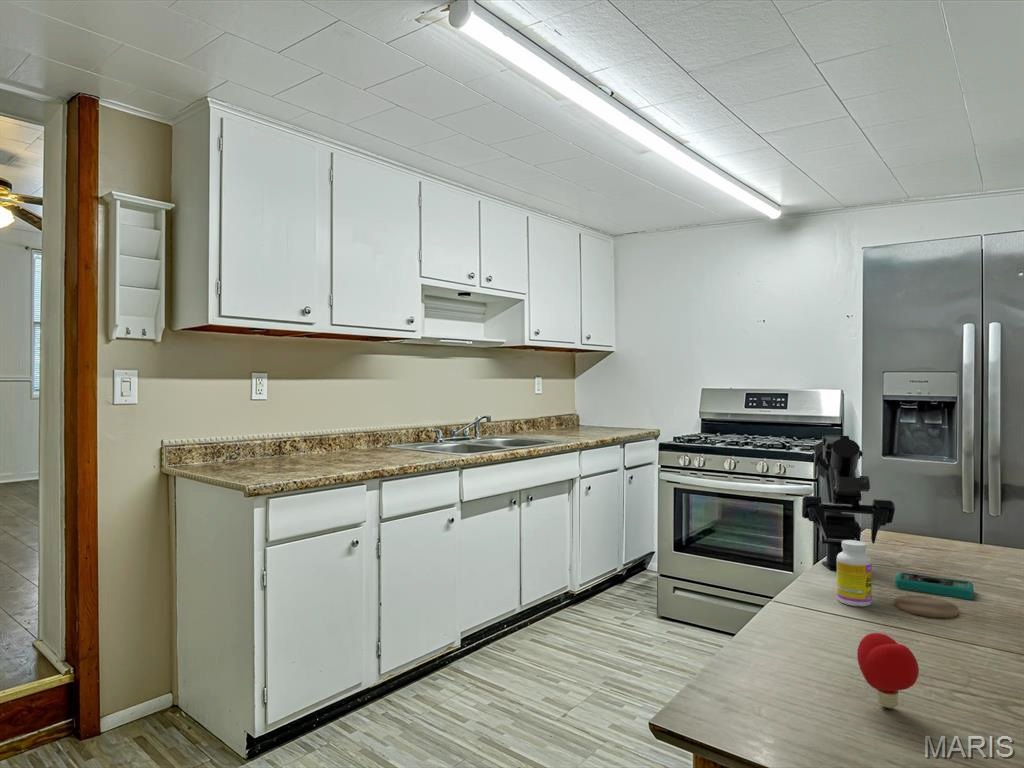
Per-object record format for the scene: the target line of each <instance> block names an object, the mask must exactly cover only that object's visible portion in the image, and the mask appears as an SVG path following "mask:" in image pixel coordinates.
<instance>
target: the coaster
mask: <svg viewBox="0 0 1024 768" xmlns="http://www.w3.org/2000/svg"><path fill="white" fill-rule="evenodd" d="M894 604H895V605H896V606H895V605H894V606H895V607H896V608H897V609H898V610H900V609H901V610H900V611H902V610H903V611H902V612H905V611H906V612H905V613H907V612H908V613H907V614H910V613H912V614H911V615H914V614H915V615H914V616H918V615H921V616H920V617H923V616H926V617H925V618H929V617H934V618H933V619H951V618H952V619H953V618H957V616H959V608H958V607H957V605H955V604H953V603H952V602H948V601H946V600H944V599H940V598H936V597H931V596H926V595H925V596H924V595H908V594H907V595H901V596H900V595H899V596H897V597H896V598H895V600H894Z"/></svg>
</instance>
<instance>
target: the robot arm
mask: <svg viewBox="0 0 1024 768" xmlns="http://www.w3.org/2000/svg"><path fill="white" fill-rule="evenodd" d="M860 447H861V446H860V445H859V444H858V443H857V442H856V441H854V440H852V439H850V436H849V435H836V434H834V435H833V434H832V435H831V434H825V435H822V437H821V441H820V442H819V443H818V444H817V445H816V446H815V447H814V455H813V464H814V467H816V471H817V472H816V473H817V474H818V475H819V476H820V477H821V478H822V479H824V484H825V494H826V502H823V501H822V496H819V495H817V496H816V495H804V496H803V497H802V498H801V499H802V500H801V501H802V502H801V517H802V518H804V519H807V520H808V521H809V522H813V524H814V525H815V526H816V527H817V529H819V540H820V543H821V544H822V545H823V544H826V545H825V546H826V547H825V549H826V551H825V552H826V561H823V560H822V561H823V562H822V561H821V564H822V565H823V566H824V567H826V568H827V569H828V570H830V571H837V555H838V554H839V553H840V552H843V549H842V541H844V540H855V541H861V535H862V527H861V526H860V524H859V521H856V517H855V515H867V516H871V523H870V529H871V530H870V531H871V532H870V533H871V534H870V535H871V537H870V539H871V543H872V544H875V542H876V539H877V536H878V532H879V530H880V528H881V527H882V526H883V527H884V526H886V525H887V524H890V523H893V520H894V515H895V511H896V508H895V503H894V502H893V501H892V499H877V498H874V499H873V500H872V505H870V504H869V505H868V504H861V502H862V498H863V497H862V492H867V493H868V492H869V491H870V489H871V484H870V483H871V482H870V477H869V475H859V477H857V472H856V470H857V468H858V463H859V460H860V459H861V457H863V451H862V450H861V449H860Z"/></svg>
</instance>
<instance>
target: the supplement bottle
mask: <svg viewBox="0 0 1024 768" xmlns="http://www.w3.org/2000/svg"><path fill="white" fill-rule="evenodd" d="M842 549H843V552H840V553H839V554H838V555H837V570H836V599H837V600H838V602H840V603H842V604H844V605H847V606H851V607H858V606H859V607H861V608H862V607H868V606H870V605H871V604H872V603H873V602H872V600H873V598H872V597H873V596H872V595H873V594H872V592H873V588H872V587H873V584H872V580H873V579H872V578H873V577H872V575H873V574H872V559H871V557H870V556H869V555H868V554H866V551H867V543H866V542H864V541H861V540H860V541H855V540H844V541H842Z"/></svg>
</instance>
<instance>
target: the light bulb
mask: <svg viewBox="0 0 1024 768" xmlns="http://www.w3.org/2000/svg"><path fill="white" fill-rule="evenodd" d="M856 653H857V664H858V666H859V669H860V671H861V674H862V676H863V678H864V679H865V682H867V683H868V684H869V686H870V687H872V689H874V690H876V702H877V703H878V704H880V705H881V706H882V707H883V709H885V710H890V711H891V710H893V708H897V707H898V706H899V691H903V690H907V689H910V688H911V687H913V686H914V685H915V684H916V682H917V680H918V677H919V673H920V672H919V671H920V668H919V663H918V661H917V658H916V656H915V655H914V653H913V652H912V651H911V650H910V648H909V647H908V646H906V645H904V644H901V643H898V642H897V641H896V640H895V639H893V638H892V637H890V636H889V635H886V633H881V632H880V633H879V632H874V633H873V632H871V633H869V634H866V635H865V636H864V637H863V638H862V639H861V640H860V641H859V644H858V646H857V651H856Z"/></svg>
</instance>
